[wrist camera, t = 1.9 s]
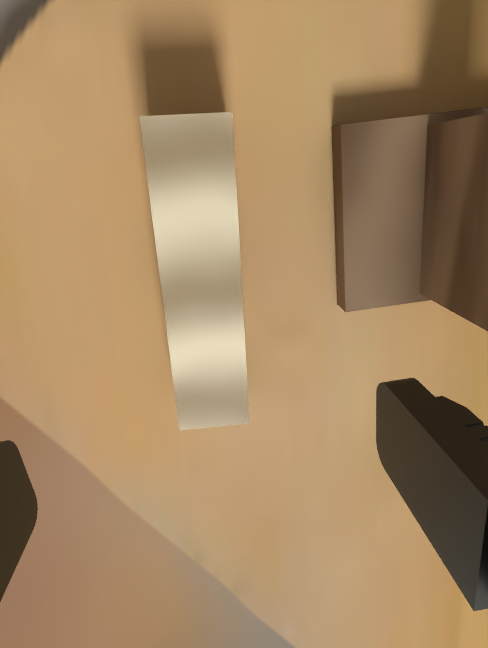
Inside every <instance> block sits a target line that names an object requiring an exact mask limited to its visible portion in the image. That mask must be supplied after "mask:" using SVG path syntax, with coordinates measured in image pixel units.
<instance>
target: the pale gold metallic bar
mask: <svg viewBox="0 0 488 648" xmlns="http://www.w3.org/2000/svg"><path fill="white" fill-rule="evenodd" d="M139 118H140V126H141V134H142V142H143V150H144V157H145V165H146V173H147V181H148V189H149V196H150V204H151V212H152V220H153V227H154V235H155V243H156V251H157V259H158V266H159V274H160V282H161V290H162V298H163V305H164V313H165V321H166V329H167V337H168V344H169V352H170V360H171V368H172V376H173V383H174V391H175V399H176V407H177V415H178V422H179V430H190V429H200V428H209V427H219V426H229V425H239V424H248V423H250V421H249V403H248V385H247V367H246V349H245V331H244V313H243V295H242V277H241V259H240V241H239V223H238V205H237V187H236V169H235V151H234V133H233V115H232V112H220V113H198V114H176V115H154V116H139Z"/></svg>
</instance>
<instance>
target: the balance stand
mask: <svg viewBox="0 0 488 648" xmlns="http://www.w3.org/2000/svg"><path fill="white" fill-rule="evenodd" d="M332 150H333V181H334V212H335V243H336V274H337V304H338V305H339V306H340V307H341V308H342V309H343V310H344V311H345V312H350V311H357V310H364V309H371V308H378V307H385V306H392V305H399V304H406V303H413V302H420V301H427V300H432V301H434V302H436V303H438V304H440V305H441V306H443V307H445V308H447V309H449V310H450V311H452V312H454V313H456V314H458V315H459V316H461V317H463V318H465V319H467V320H468V321H470V322H472V323H474V324H476V325H477V326H479V327H481V328H483V329H485V330H486V331H488V107H486V108H477V109H468V110H460V111H451V112H443V113H434V114H426V115H417V116H409V117H400V118H392V119H383V120H374V121H366V122H357V123H349V124H341V125H338V126H334V127H332Z"/></svg>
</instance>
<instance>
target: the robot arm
mask: <svg viewBox="0 0 488 648" xmlns="http://www.w3.org/2000/svg"><path fill="white" fill-rule="evenodd" d="M376 443H377V450H378V454H379V457H380V460H381V463H382V465H383V467H384V469H385V471H386V472H387V474H388V475H389V477H390V479H391V480H392V482H393V483H394V485H395V487H396V488H397V490H398V491H399V493H400V495H401V496H402V498H403V499H404V501H405V503H406V504H407V506H408V507H409V509H410V510H411V512H412V514H413V515H414V517H415V518H416V520H417V522H418V523H419V525H420V526H421V528H422V530H423V531H424V533H425V534H426V536H427V537H428V539H429V541H430V542H431V544H432V545H433V547H434V549H435V550H436V552H437V553H438V555H439V557H440V558H441V560H442V561H443V563H444V564H445V566H446V568H447V569H448V571H449V572H450V574H451V576H452V577H453V579H454V580H455V582H456V584H457V585H458V587H459V588H460V590H461V592H462V593H463V595H464V596H465V598H466V599H467V601H468V603H469V604H470V606H471V607H472V609H473V611H477V610H482V609H487V608H488V426H484V424H483V422H482V421H481V420H480V419H479V418H478V417H476V416H475V415H474V414H473V413H472V412H471V411H470V410H468V409H467V408H466V407H464V406H462V405H460V404H458V403H456V402H454V401H452V400H450V399H448V398H446V397H443V396H439V397H435V396H433V395H432V394H431V393H430V392H429V391H428V390H427V389H426V388H425V387H424V386H423V385H422V384H421V383H420V382H419V381H418V380H416V379H415V378H408V379H401V380H395V381H389V382H382V383H379V385H378V387H377V393H376ZM36 519H37V499H36V495H35V492H34V490H33V487H32V485H31V482H30V479H29V477H28V474H27V471H26V469H25V466H24V464H23V461H22V458H21V456H20V453H19V450H18V448H17V446H16V445H15V444H14V442H12V441H8V440H7V441H1V442H0V601H1V599H2V597H3V595H4V593H5V590H6V588H7V586H8V584H9V581H10V579H11V577H12V575H13V573H14V570H15V568H16V566H17V564H18V562H19V560H20V557H21V555H22V553H23V551H24V549H25V546H26V544H27V542H28V540H29V538H30V535H31V533H32V531H33V529H34V526H35V523H36Z"/></svg>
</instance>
